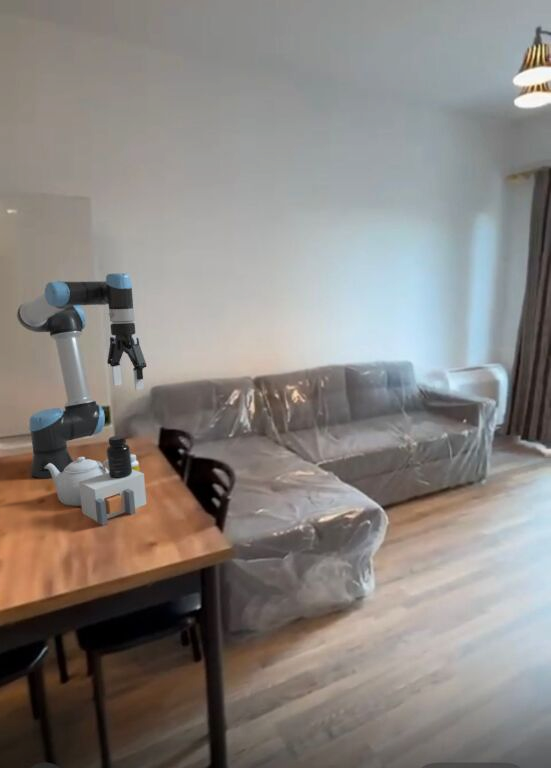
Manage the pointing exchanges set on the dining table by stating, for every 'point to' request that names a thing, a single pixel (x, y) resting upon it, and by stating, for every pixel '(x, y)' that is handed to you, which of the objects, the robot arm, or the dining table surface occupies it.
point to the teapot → (75, 478)
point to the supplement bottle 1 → (119, 457)
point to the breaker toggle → (113, 504)
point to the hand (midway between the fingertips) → (128, 387)
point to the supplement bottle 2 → (134, 462)
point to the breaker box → (106, 487)
